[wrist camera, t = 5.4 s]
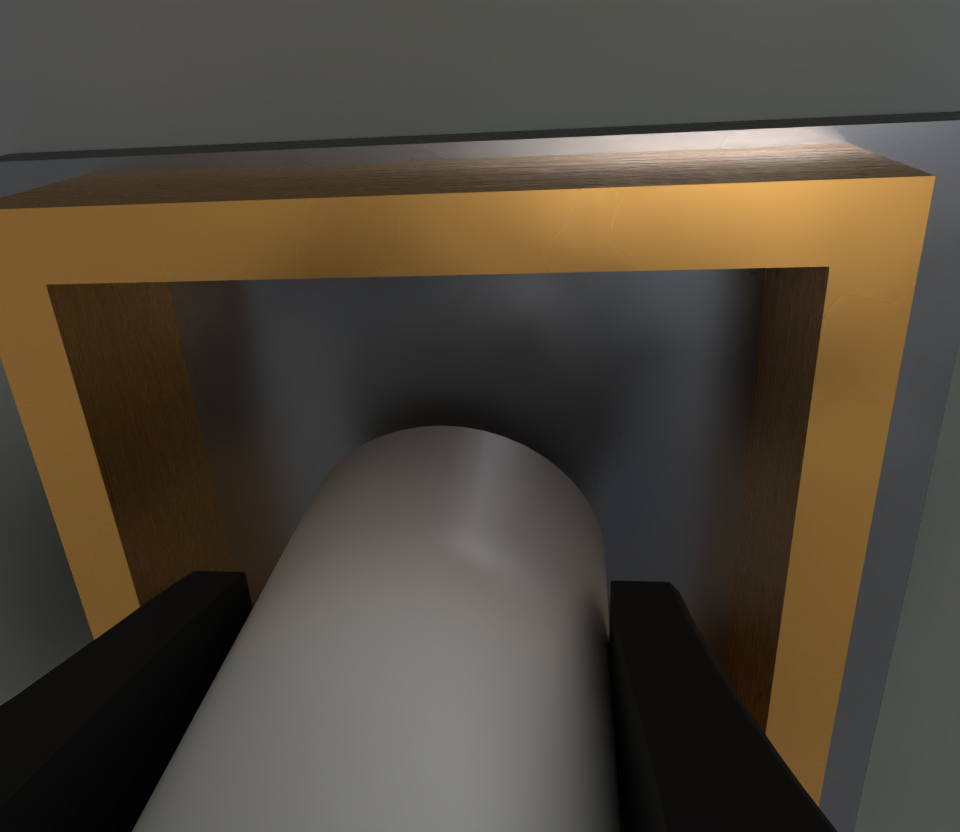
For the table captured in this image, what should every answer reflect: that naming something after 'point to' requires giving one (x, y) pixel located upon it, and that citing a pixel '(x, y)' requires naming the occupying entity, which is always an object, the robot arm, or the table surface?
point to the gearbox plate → (517, 363)
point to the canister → (415, 658)
